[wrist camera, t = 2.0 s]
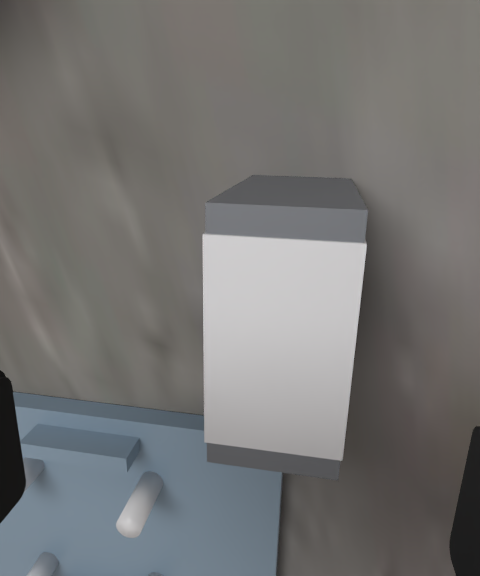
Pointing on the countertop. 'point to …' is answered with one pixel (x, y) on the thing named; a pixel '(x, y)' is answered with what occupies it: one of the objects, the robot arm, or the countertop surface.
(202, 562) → the blue fixture board
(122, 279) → the countertop surface
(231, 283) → the block
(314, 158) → the countertop surface
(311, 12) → the countertop surface
